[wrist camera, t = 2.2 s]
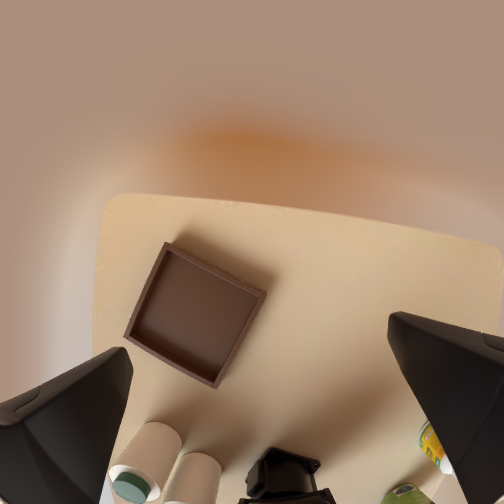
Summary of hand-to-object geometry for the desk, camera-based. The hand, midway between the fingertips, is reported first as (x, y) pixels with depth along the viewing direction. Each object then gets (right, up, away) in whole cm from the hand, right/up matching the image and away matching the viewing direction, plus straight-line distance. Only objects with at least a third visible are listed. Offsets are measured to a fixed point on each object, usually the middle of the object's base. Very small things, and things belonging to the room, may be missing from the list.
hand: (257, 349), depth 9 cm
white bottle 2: (-6, -22, +17) cm, 28 cm away
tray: (-6, -3, +17) cm, 18 cm away
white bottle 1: (-10, -18, +17) cm, 27 cm away
